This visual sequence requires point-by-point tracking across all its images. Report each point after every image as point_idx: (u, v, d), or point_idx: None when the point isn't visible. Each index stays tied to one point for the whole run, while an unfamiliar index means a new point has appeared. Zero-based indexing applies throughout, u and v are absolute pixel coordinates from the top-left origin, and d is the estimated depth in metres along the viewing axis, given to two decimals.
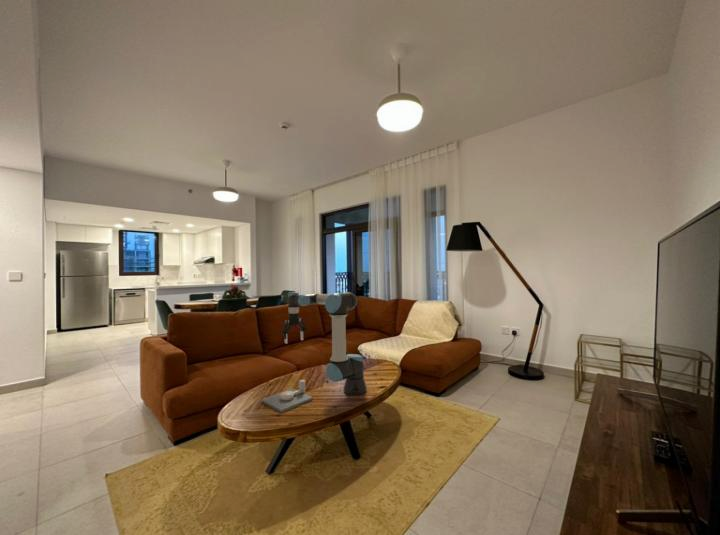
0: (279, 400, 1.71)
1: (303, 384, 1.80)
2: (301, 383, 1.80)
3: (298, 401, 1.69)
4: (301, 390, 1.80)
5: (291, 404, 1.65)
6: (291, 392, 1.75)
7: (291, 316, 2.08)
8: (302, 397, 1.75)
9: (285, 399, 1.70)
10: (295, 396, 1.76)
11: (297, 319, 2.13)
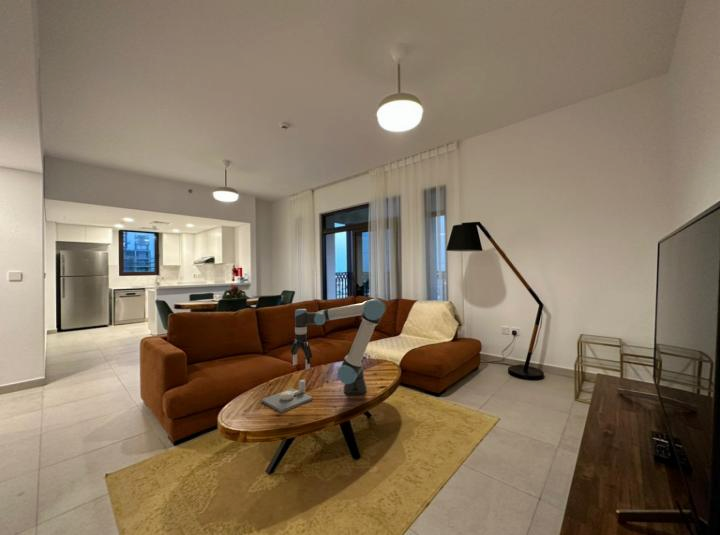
0: (279, 400, 1.71)
1: (303, 384, 1.80)
2: (301, 383, 1.80)
3: (298, 401, 1.69)
4: (301, 390, 1.80)
5: (291, 404, 1.65)
6: (291, 392, 1.75)
7: None
8: (302, 397, 1.75)
9: (285, 399, 1.70)
10: (295, 396, 1.76)
11: (301, 342, 1.80)
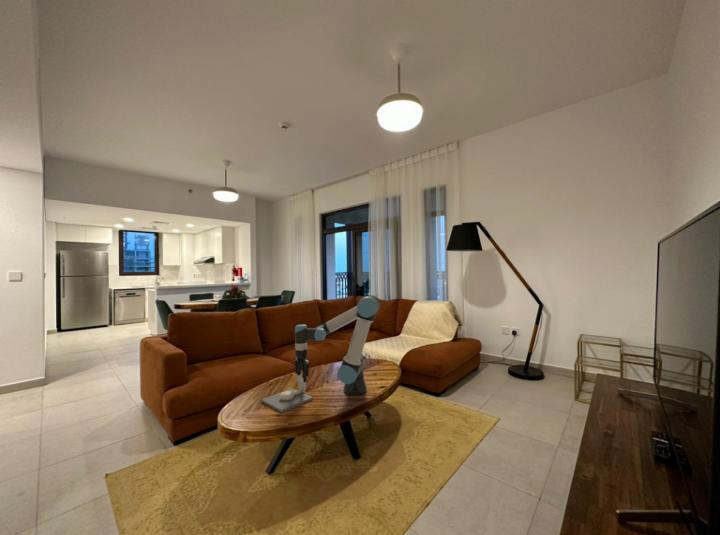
0: (279, 400, 1.71)
1: None
2: (301, 383, 1.80)
3: (298, 401, 1.69)
4: (301, 390, 1.80)
5: (291, 404, 1.65)
6: (291, 392, 1.75)
7: None
8: (302, 397, 1.75)
9: (285, 399, 1.70)
10: (295, 396, 1.76)
11: (302, 358, 1.80)
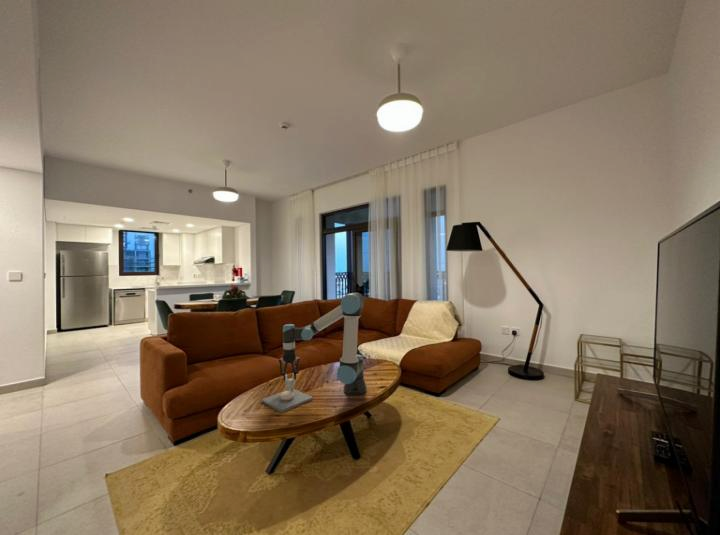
0: (279, 400, 1.71)
1: (292, 382, 1.85)
2: (291, 381, 1.84)
3: (298, 401, 1.69)
4: (291, 388, 1.83)
5: (291, 404, 1.65)
6: (288, 391, 1.76)
7: (283, 352, 1.83)
8: (302, 397, 1.75)
9: (290, 399, 1.71)
10: (295, 396, 1.76)
11: (293, 356, 1.84)
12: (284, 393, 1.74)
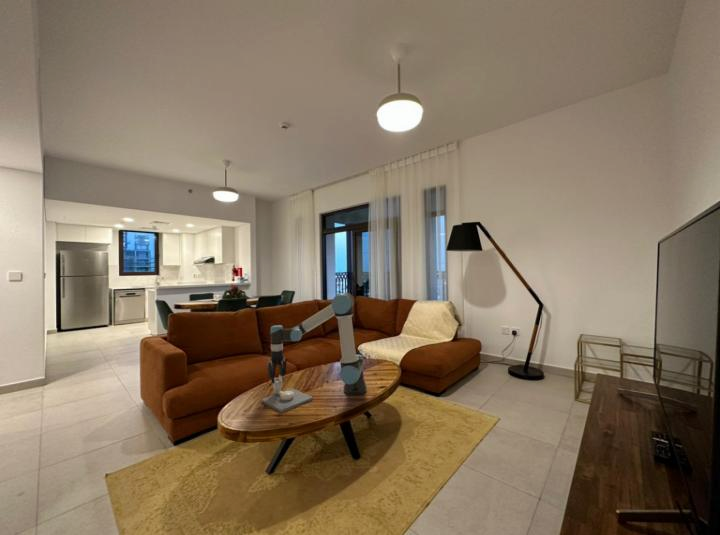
0: (279, 400, 1.71)
1: None
2: (280, 383, 1.81)
3: (298, 401, 1.69)
4: (280, 390, 1.81)
5: (291, 404, 1.65)
6: (285, 392, 1.76)
7: (274, 355, 1.78)
8: (302, 397, 1.75)
9: (293, 397, 1.73)
10: (295, 396, 1.76)
11: (281, 357, 1.83)
12: (284, 394, 1.73)
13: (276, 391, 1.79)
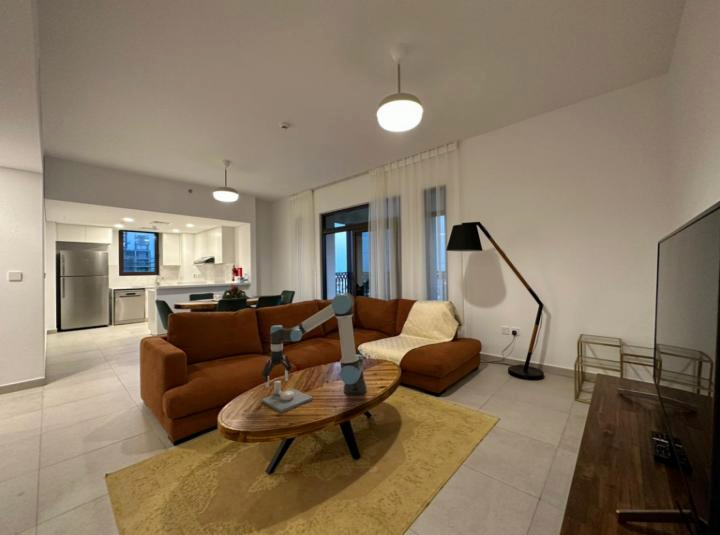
0: (279, 400, 1.71)
1: None
2: (280, 383, 1.81)
3: (298, 401, 1.69)
4: (280, 390, 1.81)
5: (291, 404, 1.65)
6: (285, 392, 1.76)
7: (274, 355, 1.78)
8: (302, 397, 1.75)
9: (293, 397, 1.73)
10: (295, 396, 1.76)
11: (281, 357, 1.83)
12: (284, 394, 1.73)
13: (276, 391, 1.79)
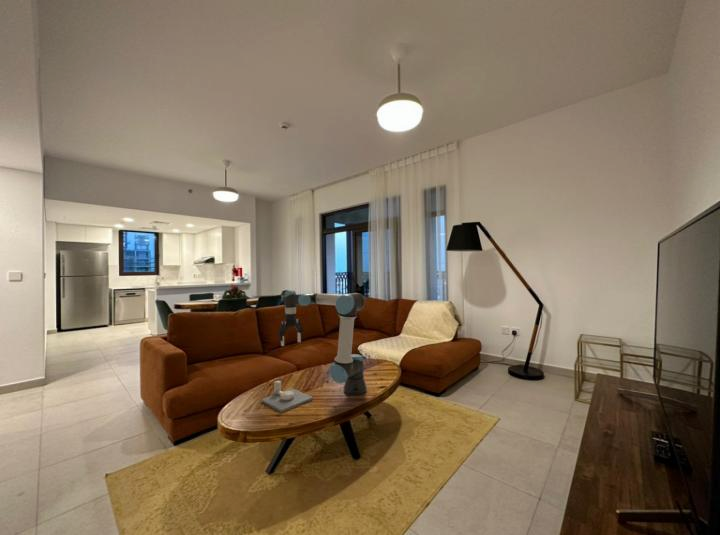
0: (279, 400, 1.71)
1: None
2: (280, 383, 1.81)
3: (298, 401, 1.69)
4: (280, 390, 1.81)
5: (291, 404, 1.65)
6: (285, 392, 1.76)
7: (288, 317, 1.96)
8: (302, 397, 1.75)
9: (293, 397, 1.73)
10: (295, 396, 1.76)
11: (294, 320, 2.01)
12: (284, 394, 1.73)
13: (276, 391, 1.79)
